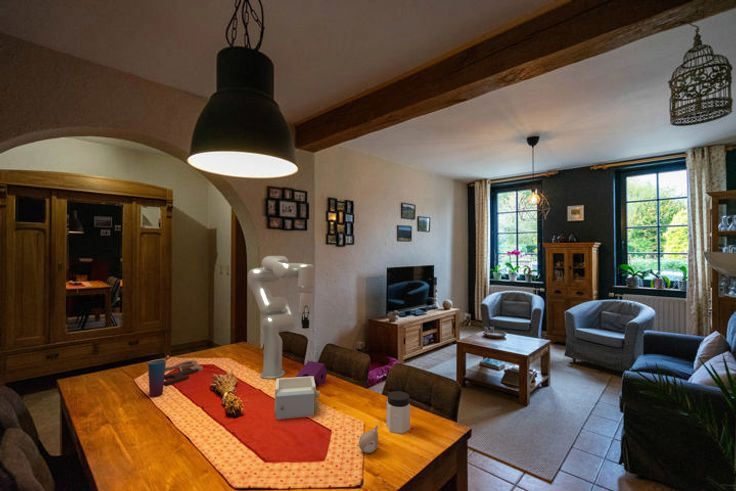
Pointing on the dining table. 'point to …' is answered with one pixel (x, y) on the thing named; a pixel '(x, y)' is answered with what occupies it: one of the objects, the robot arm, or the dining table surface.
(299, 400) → the door
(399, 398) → the jar
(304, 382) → the cabinet
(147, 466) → the dining table surface
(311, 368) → the mounting bracket
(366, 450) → the garlic bulb
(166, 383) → the wood carving
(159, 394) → the cup
